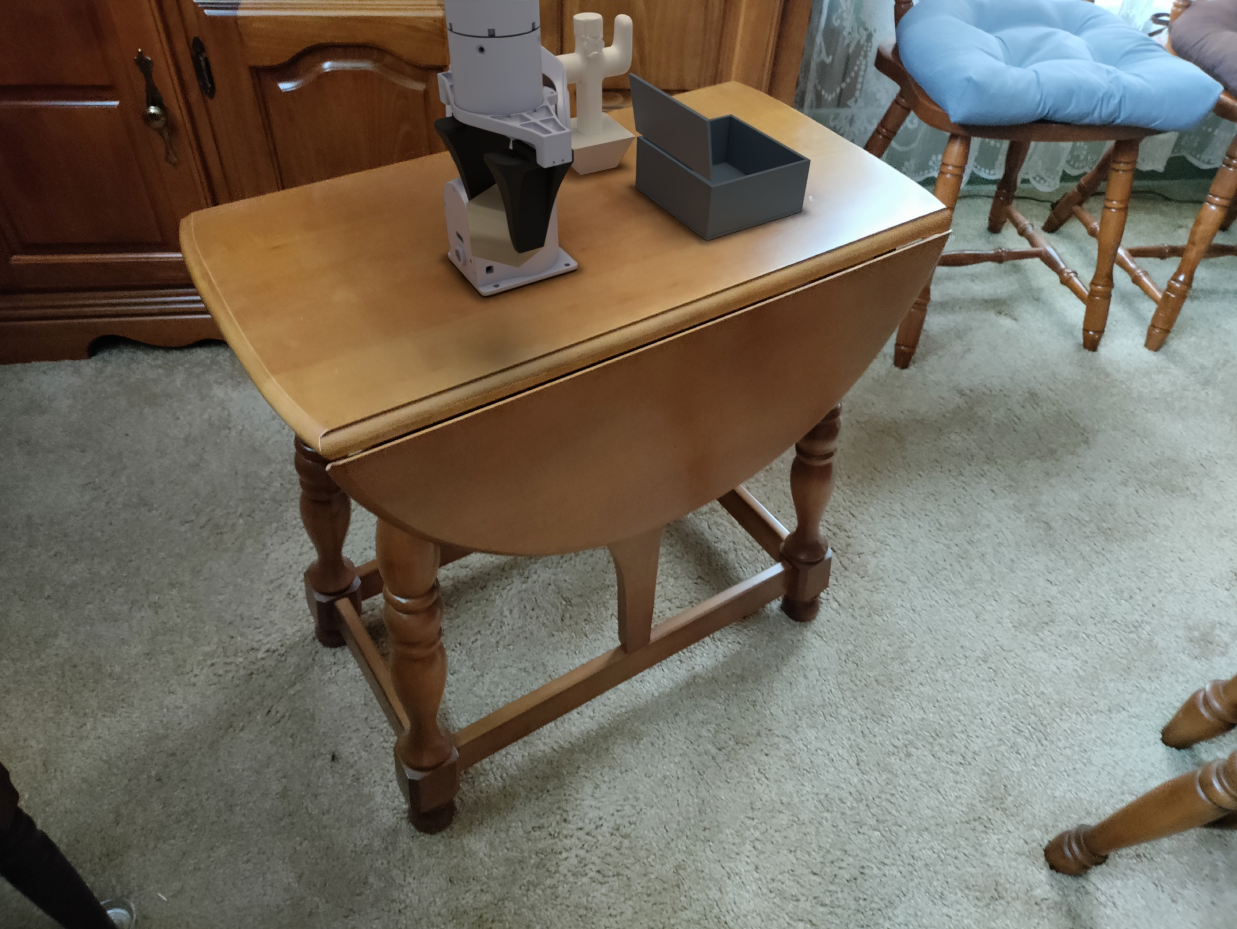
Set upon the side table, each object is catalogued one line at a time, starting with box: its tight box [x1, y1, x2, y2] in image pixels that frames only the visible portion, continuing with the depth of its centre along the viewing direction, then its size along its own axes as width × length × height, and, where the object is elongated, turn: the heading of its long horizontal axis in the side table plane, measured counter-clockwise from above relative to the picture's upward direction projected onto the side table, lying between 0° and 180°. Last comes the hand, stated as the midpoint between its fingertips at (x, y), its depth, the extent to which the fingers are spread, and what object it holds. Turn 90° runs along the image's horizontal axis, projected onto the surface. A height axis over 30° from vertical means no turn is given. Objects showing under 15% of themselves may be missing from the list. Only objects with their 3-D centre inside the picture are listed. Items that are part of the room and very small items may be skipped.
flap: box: [628, 72, 713, 181], centre depth 80 cm, size 6×13×1 cm
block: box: [466, 183, 547, 268], centre depth 61 cm, size 4×4×4 cm
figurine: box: [555, 12, 637, 176], centre depth 89 cm, size 7×9×15 cm
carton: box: [634, 113, 812, 242], centre depth 86 cm, size 12×13×5 cm
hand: (509, 232), depth 62 cm, fingers closed on block, 5 cm apart
